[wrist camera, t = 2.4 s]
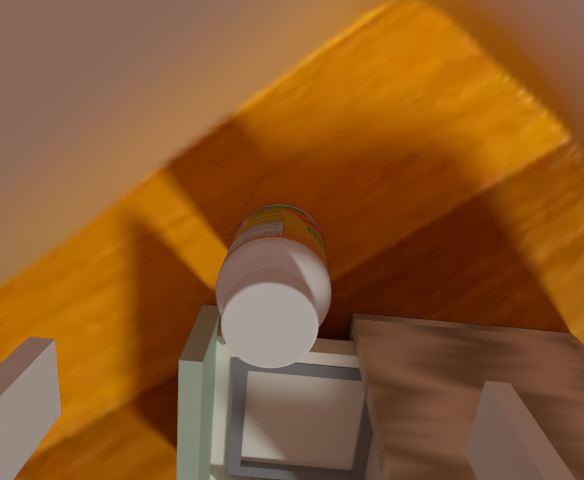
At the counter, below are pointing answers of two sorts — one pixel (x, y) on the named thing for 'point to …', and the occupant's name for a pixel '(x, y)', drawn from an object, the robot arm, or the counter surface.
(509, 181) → the counter surface
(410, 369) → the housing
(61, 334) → the counter surface
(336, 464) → the tray
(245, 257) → the supplement bottle
